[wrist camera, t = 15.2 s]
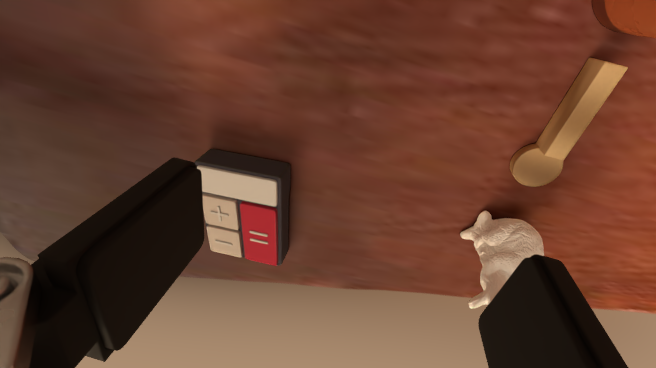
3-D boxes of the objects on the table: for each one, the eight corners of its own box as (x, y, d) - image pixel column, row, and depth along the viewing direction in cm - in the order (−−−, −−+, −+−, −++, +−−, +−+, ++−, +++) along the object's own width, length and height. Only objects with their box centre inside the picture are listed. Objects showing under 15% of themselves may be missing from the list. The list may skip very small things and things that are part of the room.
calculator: (207, 253, 44) (189, 163, 36) (222, 233, 48) (209, 147, 40) (279, 270, 43) (278, 181, 35) (289, 249, 46) (291, 162, 38)
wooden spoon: (573, 53, 27) (588, 57, 24) (626, 66, 26) (646, 71, 24) (501, 174, 33) (508, 186, 31) (542, 186, 33) (552, 199, 31)
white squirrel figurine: (450, 246, 39) (465, 330, 29) (455, 202, 36) (474, 278, 26) (524, 251, 37) (569, 343, 27) (537, 204, 34) (593, 288, 24)
